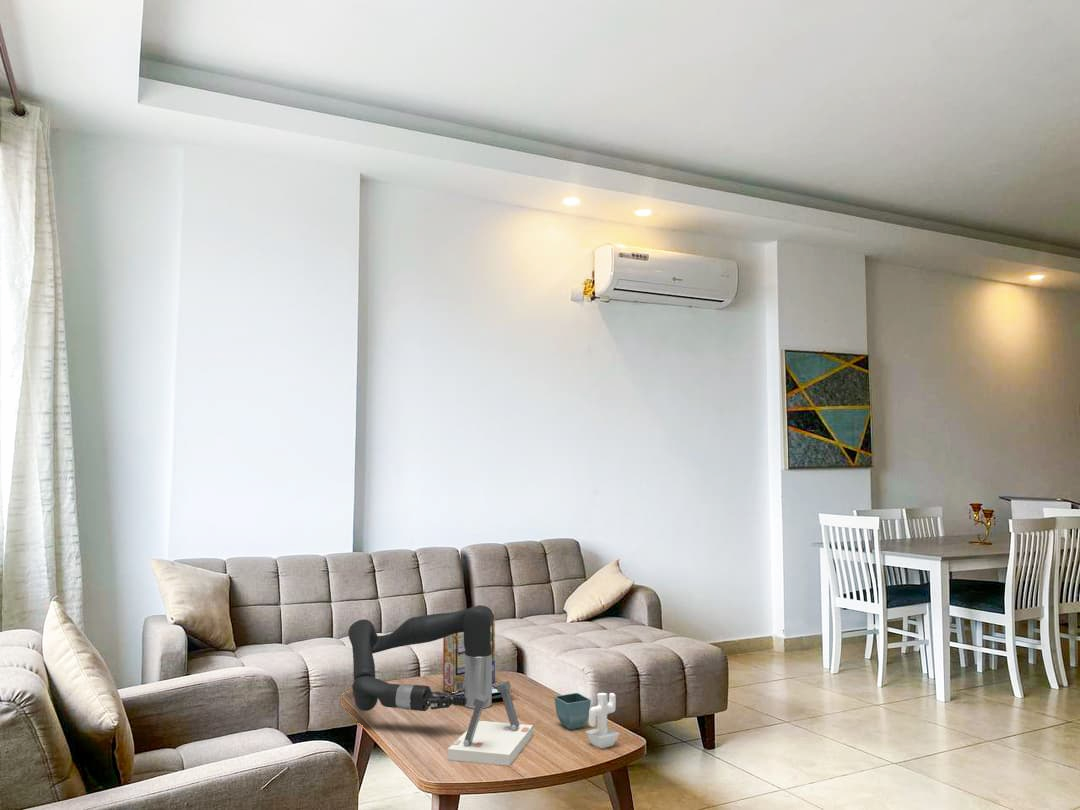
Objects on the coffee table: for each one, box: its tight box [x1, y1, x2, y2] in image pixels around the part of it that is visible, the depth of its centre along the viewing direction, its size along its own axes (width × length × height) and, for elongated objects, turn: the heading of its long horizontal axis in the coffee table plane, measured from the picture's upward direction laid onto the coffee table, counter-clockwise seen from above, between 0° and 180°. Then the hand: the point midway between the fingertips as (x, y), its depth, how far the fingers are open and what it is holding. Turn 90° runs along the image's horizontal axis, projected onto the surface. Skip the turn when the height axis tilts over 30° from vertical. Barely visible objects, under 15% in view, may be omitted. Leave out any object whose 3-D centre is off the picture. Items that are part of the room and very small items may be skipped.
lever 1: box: [463, 694, 489, 746], centre depth 236 cm, size 4×3×14 cm, turn 166°
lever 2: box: [496, 679, 520, 731], centre depth 250 cm, size 4×3×14 cm, turn 166°
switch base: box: [447, 720, 534, 767], centre depth 243 cm, size 26×18×3 cm
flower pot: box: [553, 692, 592, 730], centre depth 261 cm, size 9×9×9 cm
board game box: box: [442, 610, 496, 692], centre depth 306 cm, size 20×6×27 cm, turn 135°
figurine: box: [584, 692, 620, 749], centre depth 245 cm, size 7×9×15 cm
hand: (466, 701), depth 254 cm, fingers closed
